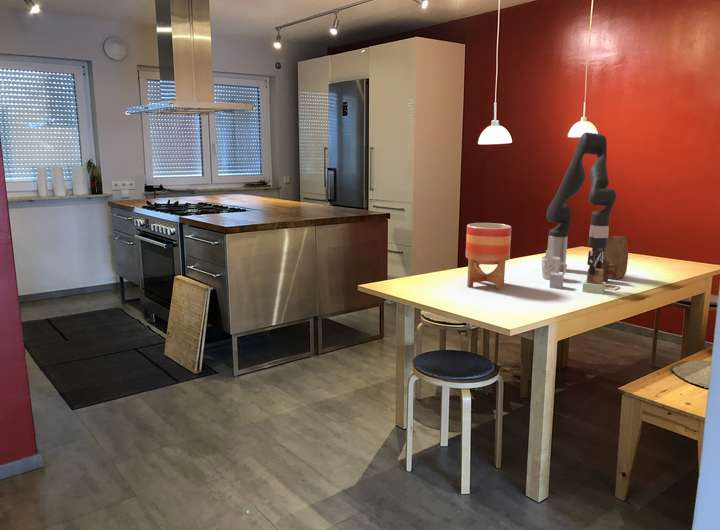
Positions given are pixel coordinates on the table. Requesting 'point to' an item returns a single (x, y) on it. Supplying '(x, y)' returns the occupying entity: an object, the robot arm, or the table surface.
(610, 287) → the tile
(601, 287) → the base block
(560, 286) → the grey block
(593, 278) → the walnut block
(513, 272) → the table surface
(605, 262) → the mug
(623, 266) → the brown tall piece
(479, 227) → the planter
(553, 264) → the mug
